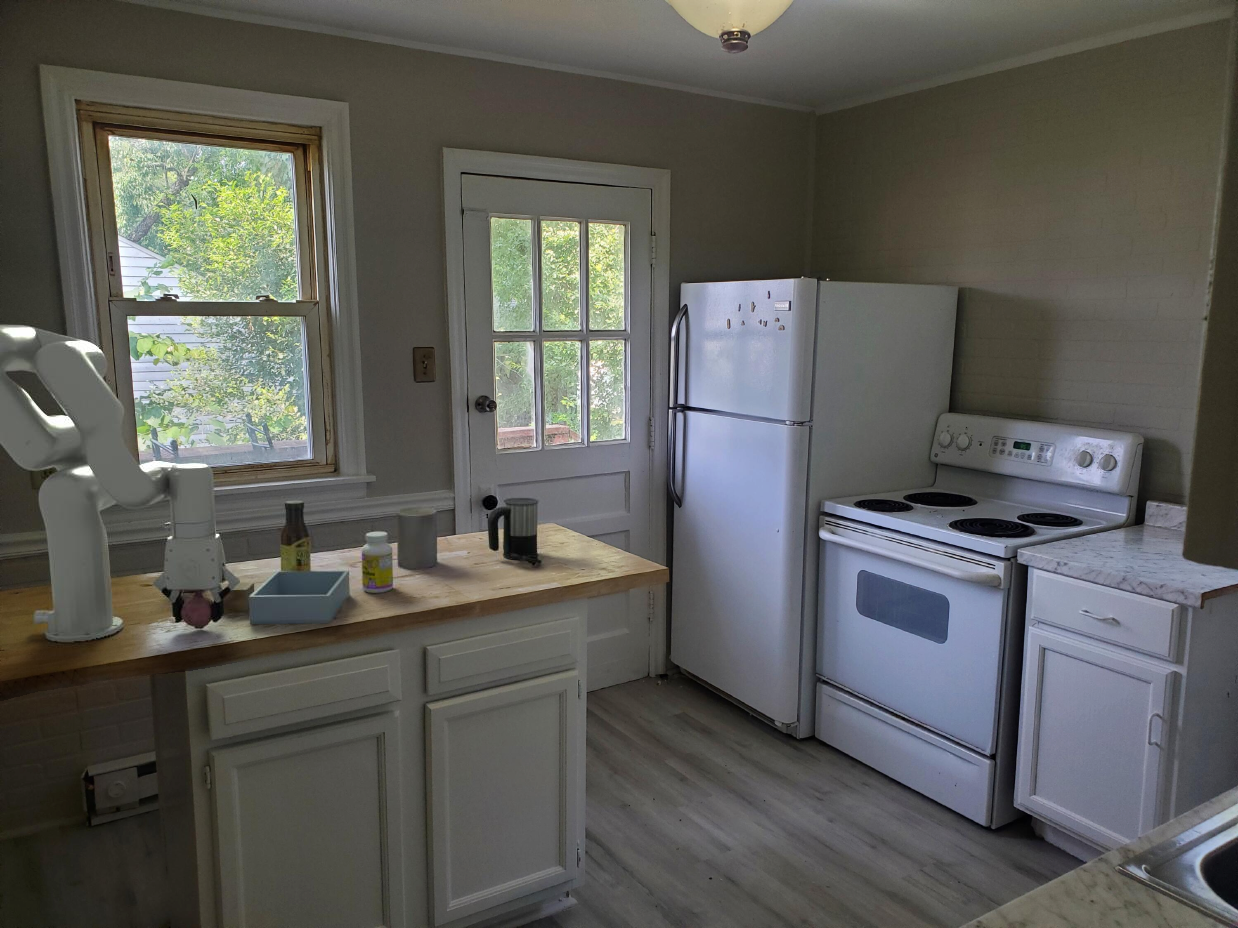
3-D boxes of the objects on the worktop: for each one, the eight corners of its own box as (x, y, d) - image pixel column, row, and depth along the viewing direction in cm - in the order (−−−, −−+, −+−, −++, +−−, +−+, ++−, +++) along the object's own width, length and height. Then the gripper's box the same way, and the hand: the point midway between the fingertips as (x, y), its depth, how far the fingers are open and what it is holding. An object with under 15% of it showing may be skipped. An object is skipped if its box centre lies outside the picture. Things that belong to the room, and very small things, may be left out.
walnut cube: (222, 613, 179) (220, 589, 178) (230, 605, 184) (229, 582, 183) (247, 613, 179) (246, 589, 179) (255, 605, 184) (254, 582, 184)
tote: (250, 623, 173) (248, 596, 172) (277, 595, 191) (276, 571, 190) (330, 622, 174) (329, 595, 173) (349, 595, 192) (348, 570, 191)
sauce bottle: (301, 594, 192) (298, 505, 189) (275, 591, 194) (271, 503, 191) (317, 585, 199) (314, 499, 196) (292, 583, 200) (288, 498, 197)
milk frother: (520, 549, 234) (520, 495, 232) (565, 559, 225) (565, 503, 223) (482, 560, 223) (481, 503, 221) (528, 571, 214) (528, 511, 212)
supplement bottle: (356, 589, 197) (355, 533, 195) (382, 583, 201) (381, 528, 200) (372, 595, 192) (371, 538, 190) (399, 589, 197) (397, 533, 195)
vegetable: (216, 633, 167) (213, 583, 165) (180, 637, 165) (177, 585, 163) (218, 623, 172) (215, 574, 171) (183, 626, 170) (180, 577, 169)
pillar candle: (398, 560, 222) (396, 502, 219) (437, 558, 224) (436, 501, 221) (397, 570, 212) (395, 510, 210) (438, 568, 215) (437, 509, 212)
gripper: (137, 533, 161) (143, 627, 164) (234, 533, 163) (238, 626, 165) (154, 524, 168) (160, 614, 171) (247, 524, 170) (251, 613, 173)
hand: (198, 619), depth 168 cm, fingers closed on vegetable, 6 cm apart
